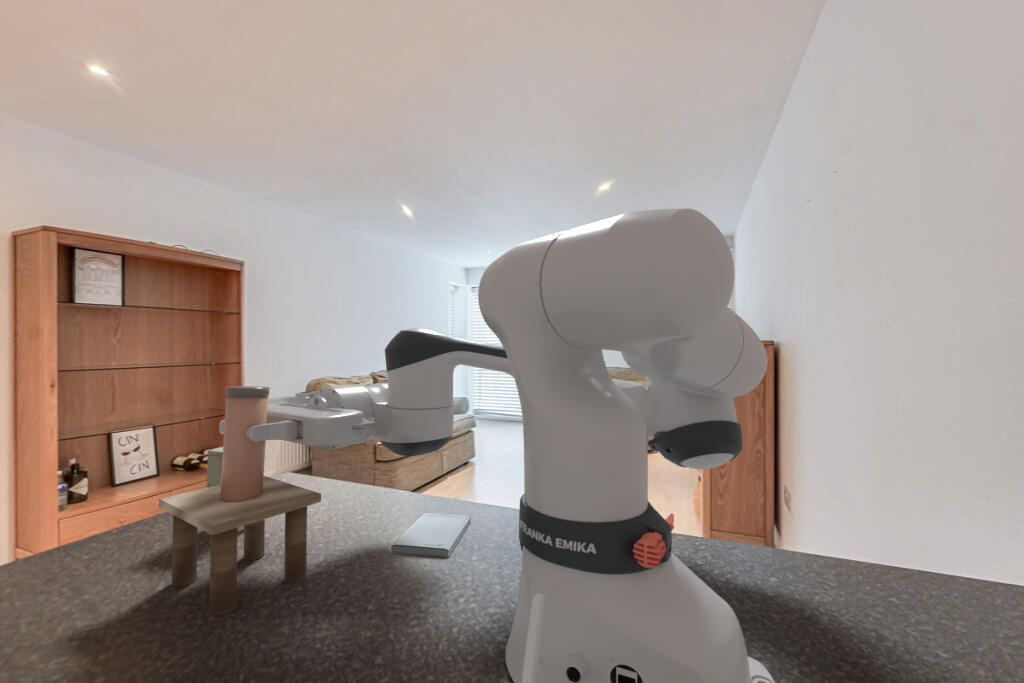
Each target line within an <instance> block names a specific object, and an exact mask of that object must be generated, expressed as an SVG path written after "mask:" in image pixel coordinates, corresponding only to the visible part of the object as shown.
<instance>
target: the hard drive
mask: <svg viewBox="0 0 1024 683" xmlns="http://www.w3.org/2000/svg"><path fill="white" fill-rule="evenodd" d="M470 521H471V522H472V516H471V515H466V514H452V513H451V514H450V513H435V512H423V513H422V514H421V515H420V516H419V517H418V518H417V519H416V520H415V521H414V522H413V523H412V524H411V525H410V527H408V528H407V529H406V531H404V532H403V533H402V534H401V536H400V537H398V539H396V540H395V541H394V543H393V544H391V548H390V549H391V552H390V553H396V554H408V555H409V554H410V555H422V556H433V557H434V556H437V557H448V558H449V557H450V555H451V554H452V552H453V551H454V549H455V548H456V546H457V545H458V543H459V541H460V540H461V538H462V536H463V535H464V533H465V532H466V530H467V529H468V527H467V526H469V525H470V524H471V522H470ZM469 523H470V524H469ZM466 528H467V529H466ZM464 531H465V532H464Z"/></svg>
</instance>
